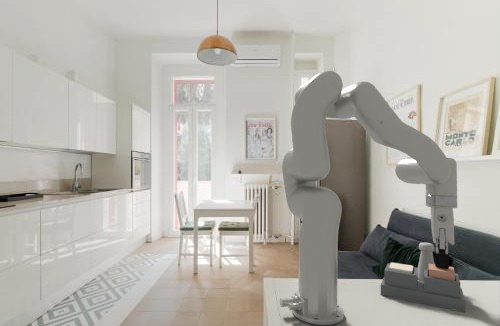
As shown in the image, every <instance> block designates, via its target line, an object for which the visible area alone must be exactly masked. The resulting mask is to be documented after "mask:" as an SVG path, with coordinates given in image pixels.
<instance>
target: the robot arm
mask: <svg viewBox="0 0 500 326" xmlns="http://www.w3.org/2000/svg"><path fill="white" fill-rule="evenodd" d="M343 87H344V85H343V80H342V77H341V75H339V74H338V73H337V72H335V71H332V70H327V71H326V70H324V71H322V72H319V73H318V74H316V75H314V76H313V77H312V78H311V79H310V80H308V81H307V82H306V83H304V84H302V85H301V86H300V87H299V88H298V89H297V90H296V92H295V94H294V105H293V108H292V111H291V118H290V127H291V128H290V129H291V130H290V131H291V141H292V148H291V149H289V150H287V152H286V153H285V155H284V156H283V160H282V165H281V166H282V167H281V169H282V170H281V171H282V177H283V185H284V191H285V198H286V199H285V200H286V204H287V207H288V209H289V211H290V212H291V214H292V215H293V216H295V217H296V218H298V219H300V220H301V221H302V222H301V227H300V230H299V236H298V291H295V292H294V295H293V296H291V297H289V298H288V297H284V298H280V299H279V305H280V307H281V308H286V307H288V310H289V311H292V314H293V315H294V316H295V318H297V319H298V320H301V321H302V322H305V323H308V324H312V325H317V326H331V325H336V324H338V323H340V322H342V321H343V320H344V316H345V312H344V311H345V310H344V309H343V308H342V307H341V306H340V305H339V304H338V269H339V268H338V267H339V266H338V257H339V255H338V253H339V250H338V244H339V243H338V241H339V228H340V224H341V219H342V218H341V217H342V210H343V207H342V202H341V199H340V198H339V196H338V194H337V193H336V192H334V191H333V190H332V189H330V188H328V187H325V186H318V185H317V182H318V181H319V182H320V181H321V180H323V179H326V177H327V176H328V174H329V173H330V170H331V160H330V153H329V146H328V145H329V144H328V139H327V130H326V122H327V121H326V120H327V118H328V119H336V120H346V119H347V120H348V119H351V118H355V119H356V121H357V122H358V123H359V124H360V126H361V127H362V128H363V129H364V131H366V133H367V135H368V136H369V137H370V138H371V139H372V141H374V142H375V143H377V144H379V145H382V146H384V147H388V148H390V149H394V150H397V151H400V152H401V153H404V154H405V155H407V156H409V157H405V158H403V159H401V160H400V161H398V162H397V164H395V165H396V166H395V168H394V169H395V170H394V171H395V172H394V173H395V175H396V177H397V178H398V179H399V180H400V181H401V182H403V183H406V184H412V185H413V184H415V185H425V207H428V208H430V226H431V228H430V229H431V235H432V241H433V243H434V244H435V252H434V264H435V266H436V267H437V268H444V269H449V267H450V254H449V245H450V244H451V246H454V245H455V222H454V221H455V218H454V217H455V216H454V209H458V174H457V173H458V170H457V169H458V166H457V161H456V160H455V158H452V157H448V156H447V155H446V154H445V153H444V151H443V150H442V149H441V147H440V146H439V145H438V144H437V143H436V142H435V141H434V140H433V139H431V137H429V136H428V135H426V134H424V133H423V132H421V131H420V130H418V129H416V128H415V127H412V126H411V125H409V124H407V123H405V122H403V120H401V118H400V117H399V116H398V115H397V113H396V111H394V109H393V107H391V106H390V105H389V103H388V102H387V100H386V99H385V97H384V96H383V95H382V94H381V93H380V91H379V90H378V89H377V87H376V86H375V85H374V84H372V83H371V82H369V81H359V82H356V83H353V84H350V85H349V86H346V87H344V88H343Z"/></svg>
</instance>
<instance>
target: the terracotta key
mask: <svg viewBox="0 0 500 326" xmlns="http://www.w3.org/2000/svg"><path fill="white" fill-rule="evenodd" d="M455 274H456V272H455V268H454V267H453V266H449V269H444V268H437V267H436V266H435V263H434V264H429V277H433V278H439V279H445V280H452V281H455Z"/></svg>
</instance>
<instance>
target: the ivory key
mask: <svg viewBox="0 0 500 326" xmlns="http://www.w3.org/2000/svg"><path fill="white" fill-rule="evenodd" d="M413 267H414V265H411V264H403V263H399V262H390V266H389V270H391V271H397V272H403V273H409V274H413Z"/></svg>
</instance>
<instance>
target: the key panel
mask: <svg viewBox="0 0 500 326" xmlns="http://www.w3.org/2000/svg"><path fill="white" fill-rule="evenodd" d="M390 264H391V262H390V263H387V264H386V267H385V268H384V273H383V274H384V276H383V279H382V281H381V283H380V295H381V296H385V297H389V298H394V299H399V300H403V301H409V302H413V303H418V304H424V305H426V306H427V305H428V306H433V307H438V308H442V309H446V310H452V311H457V312H461V313H466V299H465V295H464V292H463V288H462V287H461V280H460V277H459V274H458V273H455V281H452V280H445V279H439V278H433V277H429V269H424V281H419V280H418V267H414V266H413V274H409V273H403V272H397V271H391V270H389V266H390Z"/></svg>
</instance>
